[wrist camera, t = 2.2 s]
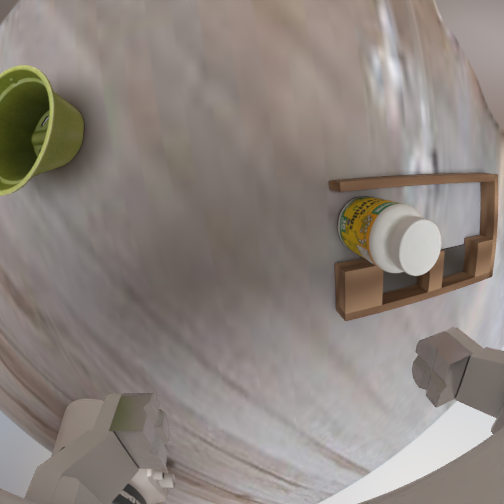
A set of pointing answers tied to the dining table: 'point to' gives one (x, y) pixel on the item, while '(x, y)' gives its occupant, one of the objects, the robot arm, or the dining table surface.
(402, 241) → the supplement bottle
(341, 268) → the frame
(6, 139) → the plant pot
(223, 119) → the dining table surface
